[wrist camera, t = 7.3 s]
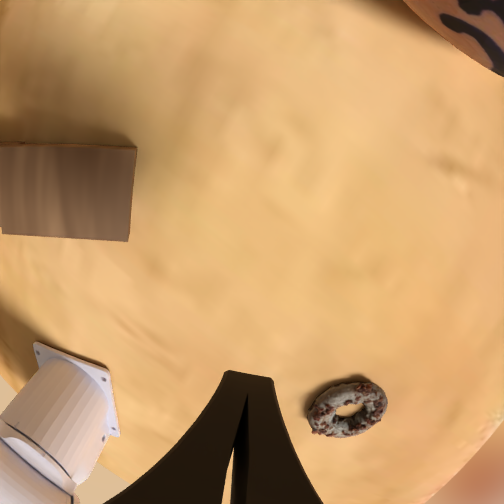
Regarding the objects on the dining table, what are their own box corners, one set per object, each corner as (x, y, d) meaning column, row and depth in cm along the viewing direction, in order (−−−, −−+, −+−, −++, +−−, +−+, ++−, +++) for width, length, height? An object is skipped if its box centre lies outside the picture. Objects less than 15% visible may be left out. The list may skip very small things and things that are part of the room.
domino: (135, 150, 15) (0, 146, 12) (127, 241, 17) (2, 233, 14) (137, 147, 16) (12, 144, 14) (129, 231, 18) (12, 224, 16)
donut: (408, 400, 22) (415, 417, 20) (333, 442, 24) (335, 459, 22) (358, 346, 20) (364, 366, 18) (272, 399, 23) (271, 419, 21)
